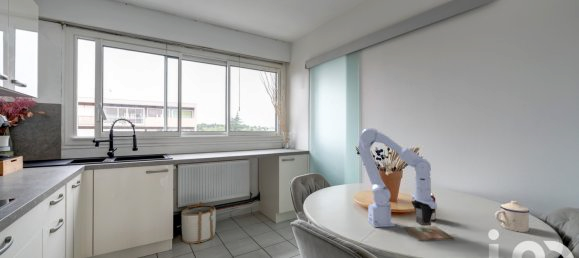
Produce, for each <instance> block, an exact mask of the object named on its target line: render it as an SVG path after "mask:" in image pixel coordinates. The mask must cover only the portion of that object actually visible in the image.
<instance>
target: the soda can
mask: <svg viewBox="0 0 579 258" xmlns="http://www.w3.org/2000/svg"><path fill="white" fill-rule="evenodd" d="M431 198H432V199H433V201H434V202H435V203H436V197H435V195H434V193H432V192H431ZM436 216H437V215H436V209H435V210H434V212H433V214H432V216H431V222H432V221H434V220H436Z"/></svg>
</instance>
